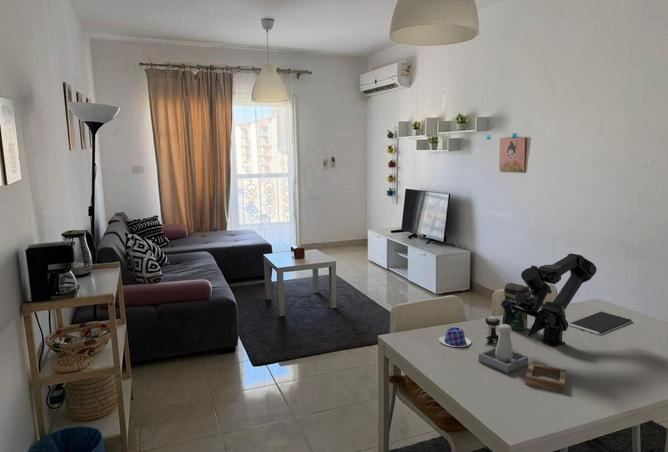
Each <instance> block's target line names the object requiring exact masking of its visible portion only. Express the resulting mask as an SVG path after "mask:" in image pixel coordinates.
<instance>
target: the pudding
mask: <svg viewBox="0 0 668 452" xmlns="http://www.w3.org/2000/svg"><path fill="white" fill-rule="evenodd" d="M444 339H445V340H444ZM438 340H439V342H440V343H441V344H442V345H445V346H448V347H453V348H463V347H468V346H470V345H471V344H472V341H471V339H469V337H466V336H465V332H464V330H463V329H462V328H461V327H457V326H456V327H453V326H451V327H449V328H448V329H447V330H446V334H445V335H442V336H441V337H439V338H438Z"/></svg>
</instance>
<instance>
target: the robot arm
mask: <svg viewBox="0 0 668 452" xmlns="http://www.w3.org/2000/svg"><path fill="white" fill-rule="evenodd" d="M568 272H569V274H570V276H569V277H568V279H567V280H566V282H565V283H564V284H563V285H562V288H561V289H560V291H559V292H558V294H557V295H556V297H555V298H554V300H553V301H548V300H547V301H545V300H546V297H547V295H548V294H552V292H553V291H552V289H551V286H550V285H548V284H551V285H556V284H558V283H559V282H560V281H561V280H562V276H563V275H564V274H566V273H568ZM596 273H597V266H596V265H595V263H593V262H592V261H590V260H589V259H587V258H585V257H584V256H583V255H582V254H577V253H572V252H571V253H568V254H567V256H565V257H563V258H562V259H560V260H557V261H556V262H553V263H552V264H544V265H540V266H539V267H538V266H537V265H531V266H530V267H528V268H525V269H524V270H522V272H521V275H520V277H521V279H522V280H523V282H524V284H525V286H528V287H529V293H525V294H522V293H519V292H516V296H515V299H514V301H518V302H519V303H518V304H519V305H521V307H518V306H516V304H515V303H514V302H513V301H510V300H506V299H505V298H504V299H503V300H502V301H501V303H500V306H501V307H502V309H503V311H504V310H505V312H506V318H505V324H507V325H510V324H511V323H512V321H513V320H514V318H515V317H516V316H515V314H517V312H520V313H523V314H526V315H527V316H530V317H533V318H534V322H533V324H532V325H531V327H530V328H529V330H528V333H527V337H528V338H530V337H531V336H533V335H535V334H537V333H538V332H540V331H542V330H543V331H542V334H543V335H542V338H540V339H539V341H540V342H543V343H545V344H547V345H549V346H551V347H557V346H561V345H565V344H566V342H565V341H563V333H564V332H566V331H567V330H568V327H569V326H568V324H569V322H568V321H567V319H566V318H567V315H566V309H567V307H568V306H569V304H570V303H571V301H572V300H573V298H574V297H575V295H576V294H577V292H578V291H579V289H580V288H581V286H582V285H583V283H586V282H589V281H590V280H591V279H592V278H593V277H594V276H595V275H596ZM544 302H545V303H544Z"/></svg>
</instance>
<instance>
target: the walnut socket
mask: <svg viewBox="0 0 668 452" xmlns="http://www.w3.org/2000/svg"><path fill="white" fill-rule="evenodd" d="M534 374H538V375H544V376H547V377H554V378H557V379H559V381H558V380H553V379H548V378H543V377H538V376H534ZM566 375H567V369H563V368H558V367H552V366H547V365H542V364H536V363H532V362H528V367H527V371H526V373H525V382H524V383H525V385H527V386H531V387H535V388H536V387H537V388H542V389H546V390H550V391H556V392H560V393H565V388H566Z"/></svg>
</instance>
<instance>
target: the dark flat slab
mask: <svg viewBox="0 0 668 452" xmlns="http://www.w3.org/2000/svg"><path fill="white" fill-rule="evenodd" d="M632 321H633V319H631V318H627V317H624V316H621V315H616V314H612V313H609V312H606V311H599V312H598V311H597V312H596V313H594V314H591V315H588V316H586V317H585V316H584V317H583V318H580V319H576V320H574V321H572V322H568V327H570V328H573V329H576V330H580V331H584V332H586V333H589V334H593V335H595V336H602V335H604V334H607V333H609V332H612V331H614V330H616V329H617V330H618V329H620V328H621V327H624V326H625V325H628V324H631V323H632Z"/></svg>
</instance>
